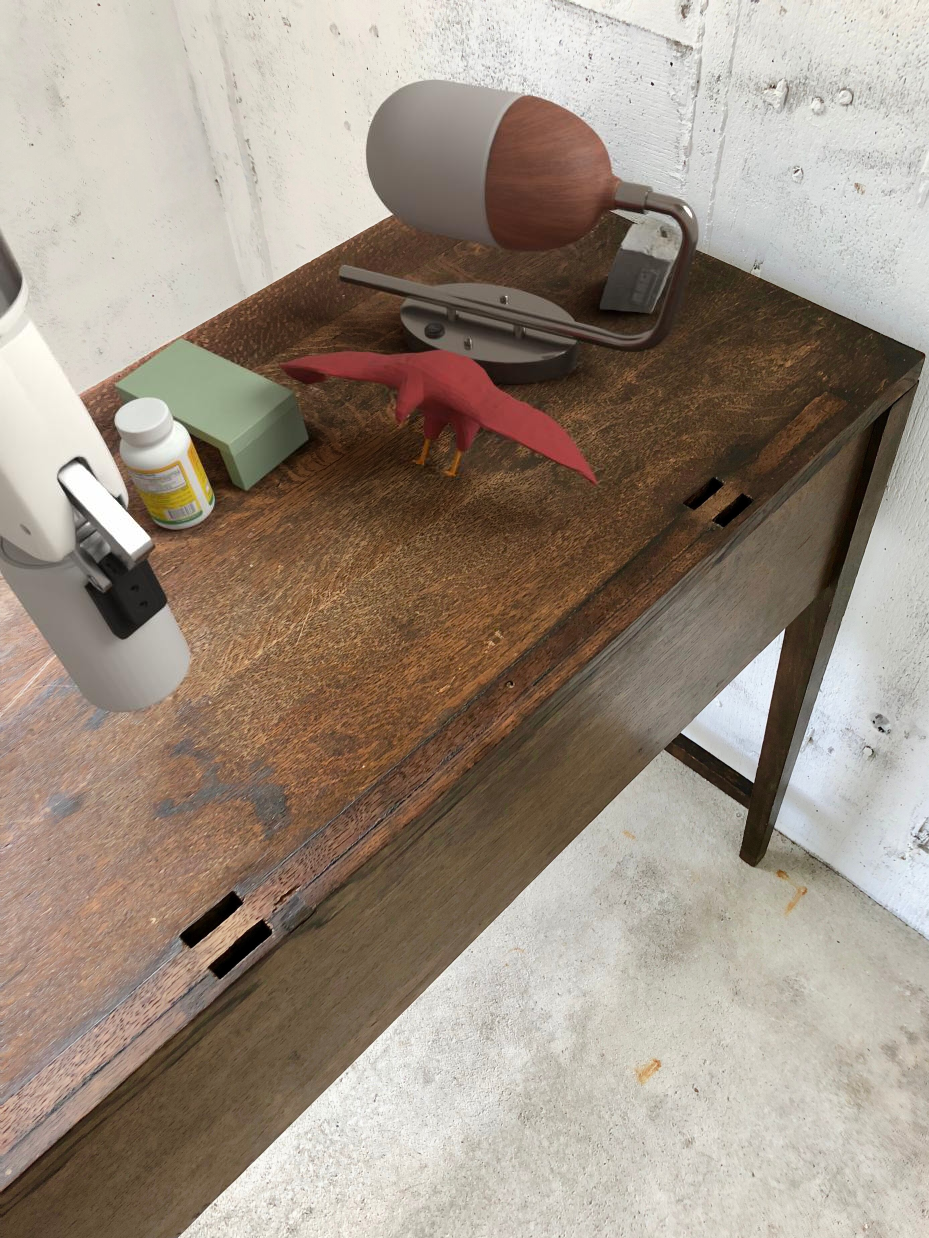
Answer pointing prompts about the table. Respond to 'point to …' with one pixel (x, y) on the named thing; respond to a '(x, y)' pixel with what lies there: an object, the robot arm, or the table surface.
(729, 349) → the table surface
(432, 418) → the decorative bird sculpture
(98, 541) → the beverage can
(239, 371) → the shelf
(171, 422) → the supplement bottle
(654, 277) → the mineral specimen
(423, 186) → the light fixture
